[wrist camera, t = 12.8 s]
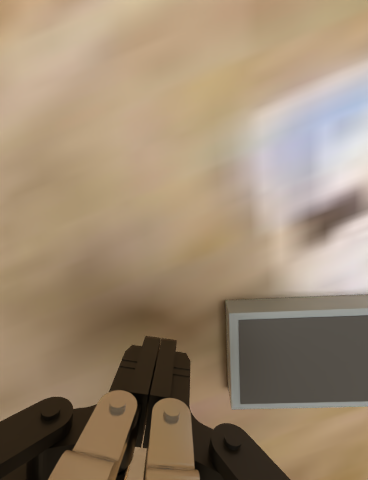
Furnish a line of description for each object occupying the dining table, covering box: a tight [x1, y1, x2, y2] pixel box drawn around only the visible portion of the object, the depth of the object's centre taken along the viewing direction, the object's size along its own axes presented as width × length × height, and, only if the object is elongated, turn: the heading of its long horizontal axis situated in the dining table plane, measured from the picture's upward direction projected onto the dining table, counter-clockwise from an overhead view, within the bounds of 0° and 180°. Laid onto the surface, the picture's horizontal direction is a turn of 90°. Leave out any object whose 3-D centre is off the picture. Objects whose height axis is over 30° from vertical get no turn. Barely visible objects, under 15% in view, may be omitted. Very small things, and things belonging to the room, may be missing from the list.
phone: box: [225, 294, 368, 409], centre depth 16 cm, size 6×11×2 cm, turn 93°
